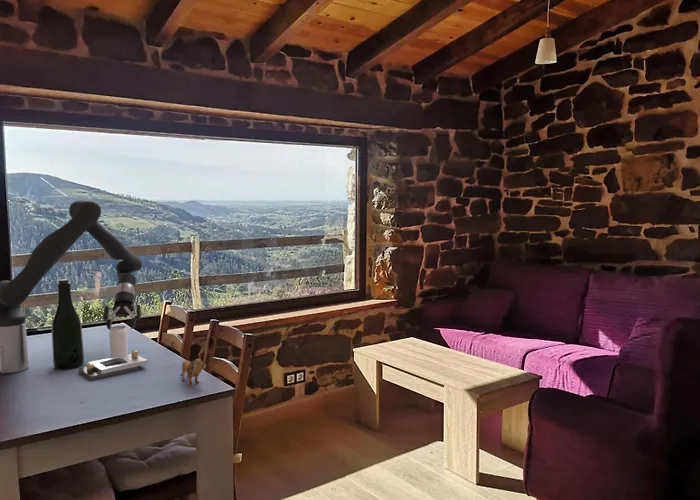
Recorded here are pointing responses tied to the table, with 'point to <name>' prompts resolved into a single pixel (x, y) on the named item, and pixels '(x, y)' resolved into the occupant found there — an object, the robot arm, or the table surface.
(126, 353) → the can
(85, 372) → the lower link
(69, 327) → the green wine bottle
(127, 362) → the upper link
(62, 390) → the table surface
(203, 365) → the lion figurine
